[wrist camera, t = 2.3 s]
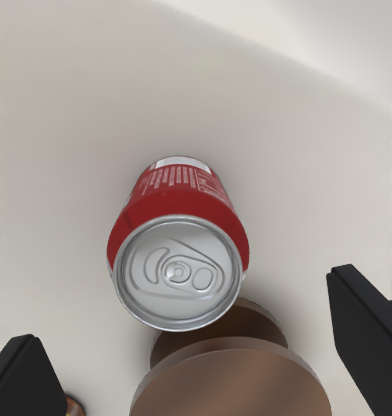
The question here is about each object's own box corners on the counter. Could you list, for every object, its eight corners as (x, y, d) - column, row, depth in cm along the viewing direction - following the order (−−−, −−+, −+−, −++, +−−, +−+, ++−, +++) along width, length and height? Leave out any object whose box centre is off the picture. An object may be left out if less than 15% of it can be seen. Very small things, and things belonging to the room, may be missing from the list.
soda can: (149, 141, 24) (123, 177, 13) (236, 171, 25) (283, 230, 14) (123, 224, 26) (79, 321, 15) (205, 250, 27) (224, 359, 16)
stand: (110, 373, 30) (88, 458, 23) (199, 255, 27) (206, 311, 20) (234, 435, 33) (249, 527, 26) (328, 334, 30) (374, 408, 23)
